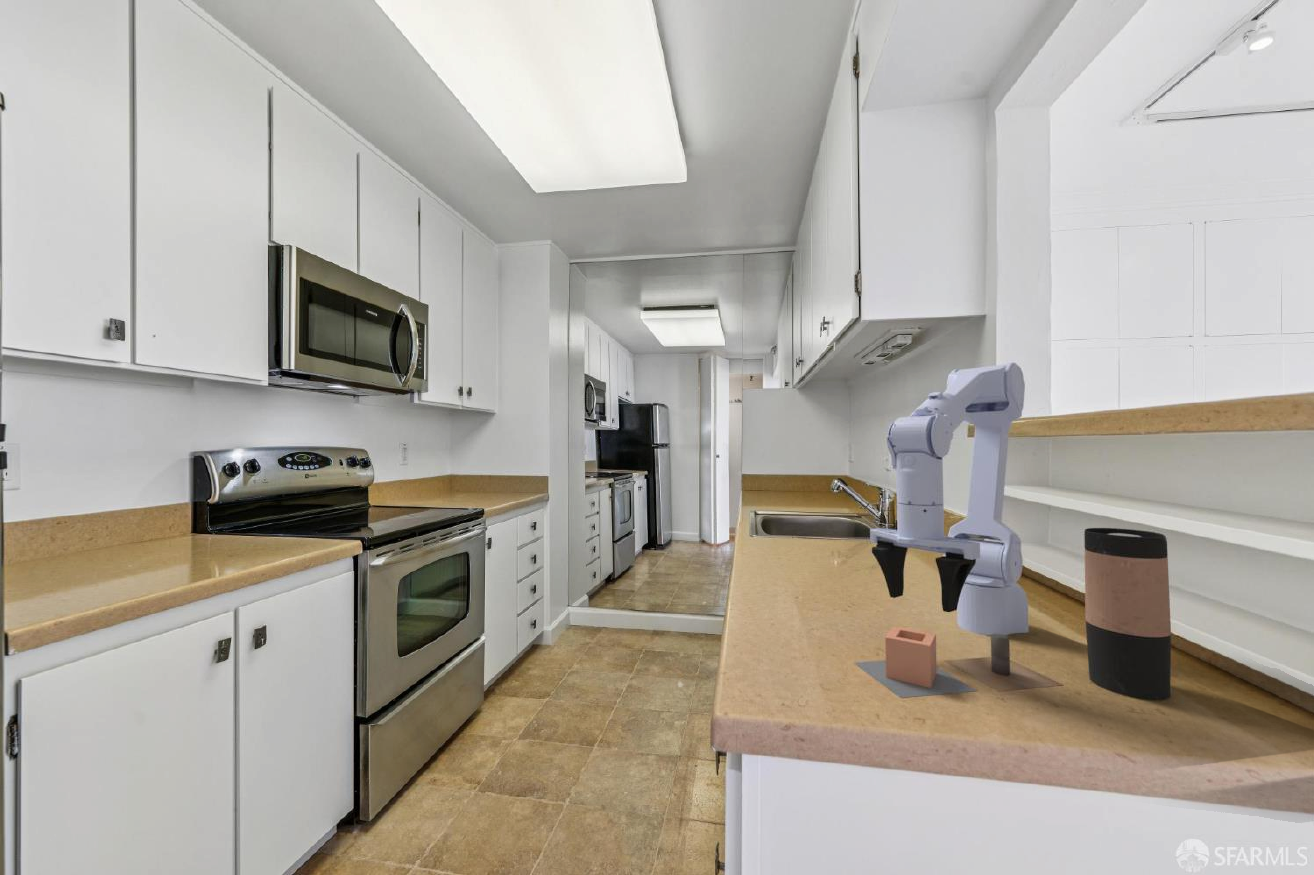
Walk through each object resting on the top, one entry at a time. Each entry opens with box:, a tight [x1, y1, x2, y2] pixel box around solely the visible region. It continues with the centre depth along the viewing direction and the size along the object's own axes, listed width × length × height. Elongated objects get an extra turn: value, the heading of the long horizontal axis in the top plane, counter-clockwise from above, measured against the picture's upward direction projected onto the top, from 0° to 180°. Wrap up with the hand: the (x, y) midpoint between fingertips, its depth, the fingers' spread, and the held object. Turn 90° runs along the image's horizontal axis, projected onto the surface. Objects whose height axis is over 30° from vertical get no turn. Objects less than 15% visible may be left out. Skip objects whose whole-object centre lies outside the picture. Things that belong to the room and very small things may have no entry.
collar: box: [885, 626, 937, 688], centre depth 65 cm, size 5×5×5 cm
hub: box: [853, 659, 978, 699], centre depth 65 cm, size 10×10×6 cm
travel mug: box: [1083, 527, 1172, 701], centre depth 62 cm, size 8×8×20 cm
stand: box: [944, 634, 1064, 692], centre depth 66 cm, size 9×9×6 cm
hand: (921, 603), depth 70 cm, fingers open, 7 cm apart
